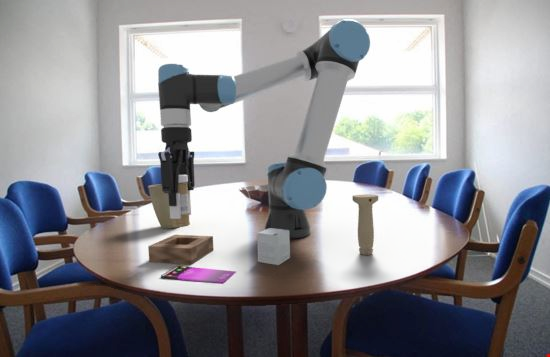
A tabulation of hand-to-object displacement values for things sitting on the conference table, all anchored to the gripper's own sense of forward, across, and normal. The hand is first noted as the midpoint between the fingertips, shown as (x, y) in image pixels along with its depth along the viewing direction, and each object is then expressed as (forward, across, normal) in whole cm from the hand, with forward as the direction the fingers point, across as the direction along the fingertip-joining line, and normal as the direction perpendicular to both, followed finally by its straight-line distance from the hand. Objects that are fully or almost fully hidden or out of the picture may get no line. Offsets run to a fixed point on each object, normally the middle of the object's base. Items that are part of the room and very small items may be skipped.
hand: (180, 216), depth 87 cm
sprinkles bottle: (+3, 0, 0) cm, 3 cm away
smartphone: (+11, +12, +11) cm, 20 cm away
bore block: (+11, 0, 0) cm, 11 cm away
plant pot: (+11, -32, -24) cm, 41 cm away
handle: (+11, -10, +47) cm, 49 cm away
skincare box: (+11, -1, +25) cm, 27 cm away
